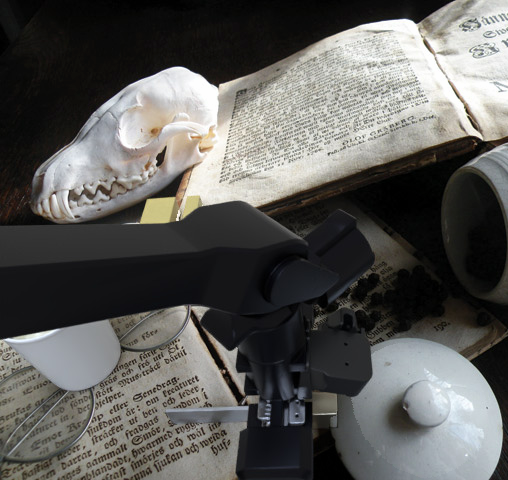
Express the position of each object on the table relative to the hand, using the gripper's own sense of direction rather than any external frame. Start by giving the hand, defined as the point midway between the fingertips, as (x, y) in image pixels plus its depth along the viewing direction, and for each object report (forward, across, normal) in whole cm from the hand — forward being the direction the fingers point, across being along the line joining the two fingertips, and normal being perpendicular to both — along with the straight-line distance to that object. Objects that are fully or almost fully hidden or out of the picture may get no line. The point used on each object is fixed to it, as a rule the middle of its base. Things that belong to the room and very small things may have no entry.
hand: (288, 414), depth 51 cm
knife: (+1, 0, +4) cm, 4 cm away
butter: (+1, +30, +21) cm, 36 cm away
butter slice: (+1, +30, +16) cm, 34 cm away
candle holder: (+1, +8, +25) cm, 26 cm away
